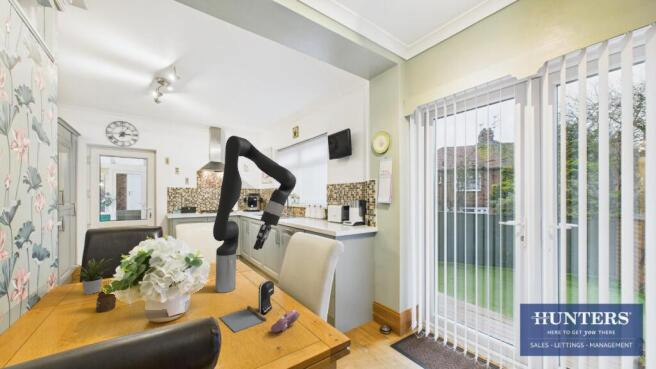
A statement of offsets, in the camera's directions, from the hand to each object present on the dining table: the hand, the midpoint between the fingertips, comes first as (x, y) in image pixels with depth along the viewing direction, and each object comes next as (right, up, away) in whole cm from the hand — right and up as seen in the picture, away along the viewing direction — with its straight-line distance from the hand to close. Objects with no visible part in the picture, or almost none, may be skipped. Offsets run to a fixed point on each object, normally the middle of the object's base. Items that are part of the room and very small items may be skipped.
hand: (257, 248), depth 108 cm
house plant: (-80, -24, +12) cm, 85 cm away
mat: (-2, -23, -14) cm, 27 cm away
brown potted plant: (-60, -23, -5) cm, 64 cm away
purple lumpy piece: (+15, -23, -19) cm, 34 cm away
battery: (+5, -23, -7) cm, 25 cm away
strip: (+2, -23, -10) cm, 25 cm away
